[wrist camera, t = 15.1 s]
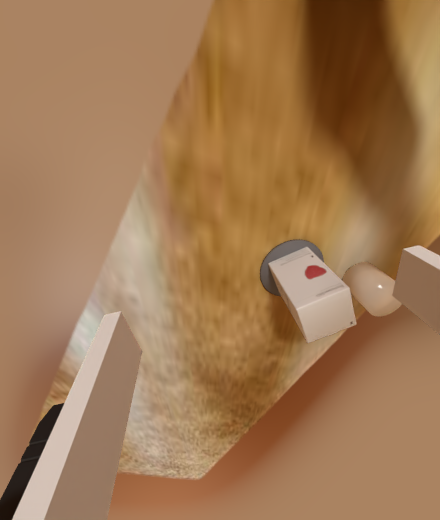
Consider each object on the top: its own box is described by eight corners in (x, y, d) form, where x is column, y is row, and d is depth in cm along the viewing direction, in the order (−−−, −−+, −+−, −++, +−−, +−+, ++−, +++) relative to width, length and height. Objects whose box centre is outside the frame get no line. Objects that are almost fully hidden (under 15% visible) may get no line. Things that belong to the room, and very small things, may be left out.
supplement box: (307, 244, 49) (352, 286, 36) (316, 277, 53) (359, 325, 40) (266, 262, 49) (295, 309, 36) (278, 293, 54) (308, 345, 41)
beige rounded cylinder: (347, 262, 53) (375, 285, 45) (380, 261, 54) (413, 283, 46) (338, 292, 57) (362, 317, 49) (368, 290, 58) (397, 315, 50)
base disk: (263, 240, 48) (264, 241, 47) (329, 238, 49) (330, 240, 49) (256, 296, 54) (257, 298, 54) (314, 293, 56) (316, 295, 55)
